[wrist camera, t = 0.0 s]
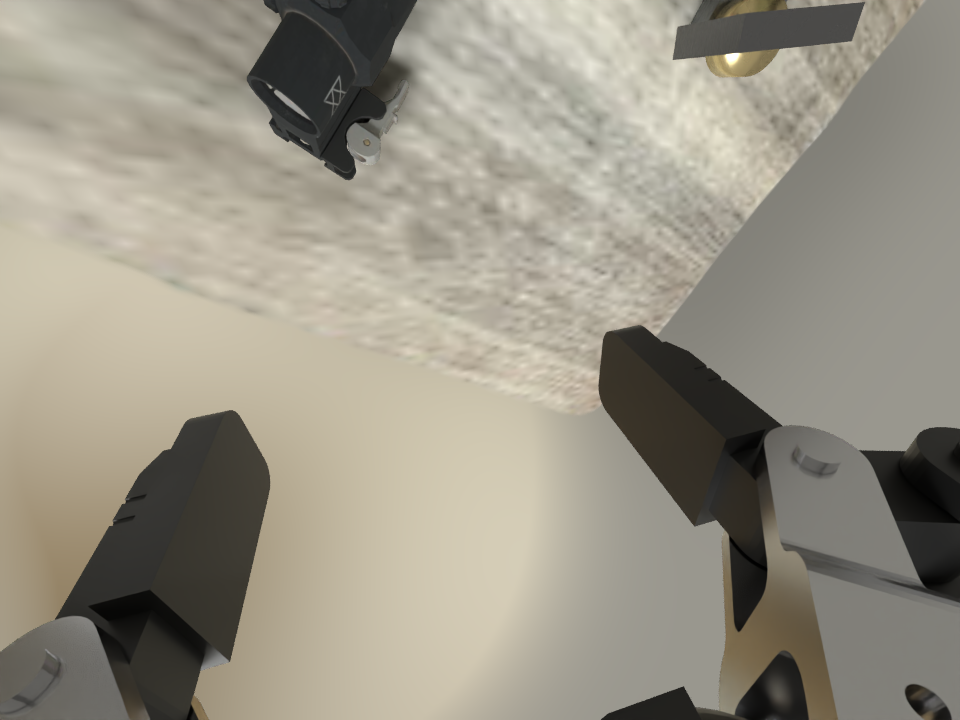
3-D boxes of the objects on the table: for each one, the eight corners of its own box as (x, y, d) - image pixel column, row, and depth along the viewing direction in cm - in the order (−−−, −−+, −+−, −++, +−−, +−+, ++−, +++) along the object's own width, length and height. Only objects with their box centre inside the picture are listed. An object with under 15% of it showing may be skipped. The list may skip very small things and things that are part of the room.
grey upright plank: (771, -6, 30) (889, -34, 23) (752, 74, 32) (853, 69, 26) (661, 3, 28) (753, -24, 22) (651, 85, 31) (730, 84, 24)
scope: (457, 28, 30) (494, -117, 20) (361, 190, 29) (350, 122, 19) (355, -55, 28) (340, -262, 18) (249, 117, 27) (174, 1, 17)
